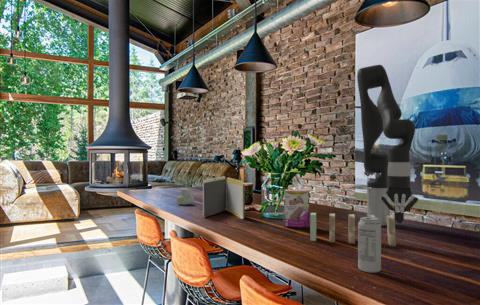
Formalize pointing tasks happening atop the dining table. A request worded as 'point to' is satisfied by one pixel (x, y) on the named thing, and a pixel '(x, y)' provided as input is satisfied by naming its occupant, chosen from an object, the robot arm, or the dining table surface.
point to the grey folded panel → (223, 196)
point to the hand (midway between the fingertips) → (398, 222)
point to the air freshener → (185, 197)
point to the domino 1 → (313, 227)
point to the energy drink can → (369, 245)
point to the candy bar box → (296, 208)
